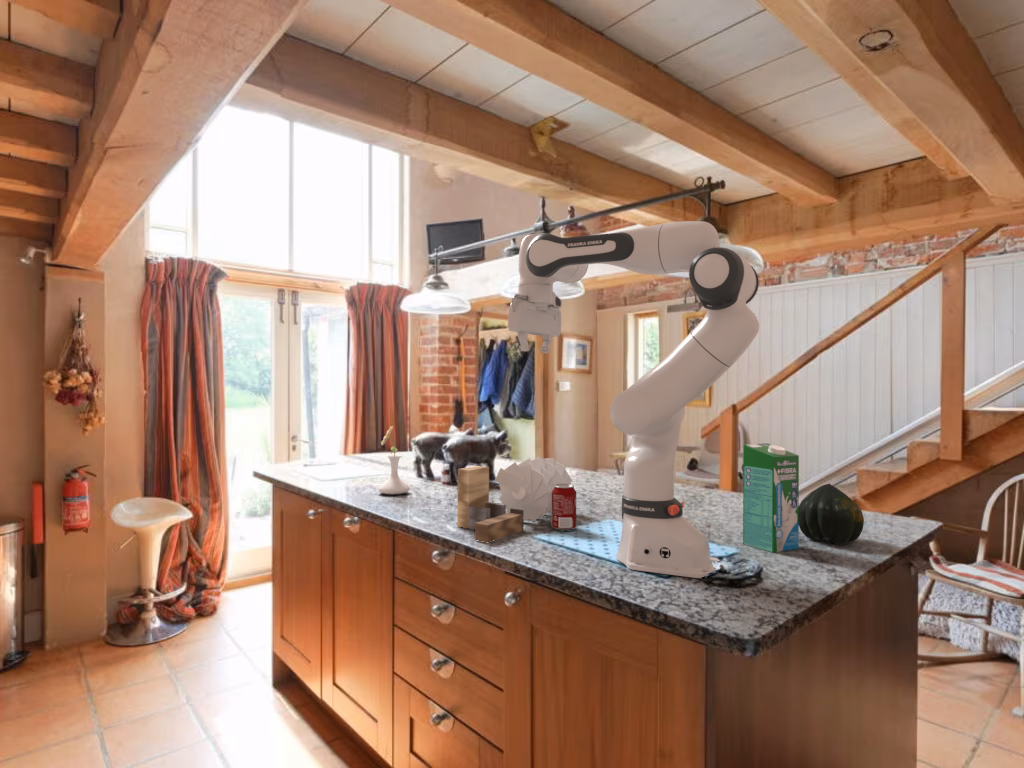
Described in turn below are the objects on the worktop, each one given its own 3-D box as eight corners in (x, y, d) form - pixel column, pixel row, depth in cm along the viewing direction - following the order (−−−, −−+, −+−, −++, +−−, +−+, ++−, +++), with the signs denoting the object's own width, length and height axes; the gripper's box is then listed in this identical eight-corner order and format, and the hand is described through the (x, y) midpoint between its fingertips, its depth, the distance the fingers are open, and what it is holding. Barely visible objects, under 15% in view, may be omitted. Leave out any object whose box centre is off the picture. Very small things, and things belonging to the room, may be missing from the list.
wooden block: (511, 528, 161) (511, 508, 161) (523, 530, 159) (523, 509, 159) (475, 540, 148) (475, 518, 148) (487, 543, 146) (487, 520, 146)
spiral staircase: (561, 522, 186) (531, 536, 163) (516, 494, 193) (481, 504, 170) (586, 472, 183) (559, 479, 161) (540, 445, 190) (507, 448, 168)
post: (505, 525, 164) (506, 468, 164) (486, 532, 157) (486, 472, 157) (477, 520, 170) (478, 465, 170) (457, 526, 162) (457, 469, 162)
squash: (829, 529, 139) (855, 479, 144) (777, 519, 153) (802, 473, 158) (859, 564, 144) (883, 514, 148) (806, 550, 157) (829, 505, 162)
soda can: (574, 532, 157) (575, 487, 157) (549, 531, 158) (550, 486, 158) (577, 526, 163) (577, 483, 163) (553, 525, 165) (553, 482, 165)
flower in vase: (384, 490, 219) (385, 423, 219) (414, 491, 217) (414, 424, 217) (371, 497, 206) (372, 426, 206) (402, 498, 204) (403, 426, 205)
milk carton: (773, 553, 138) (774, 447, 138) (742, 544, 146) (743, 443, 146) (798, 548, 142) (799, 445, 143) (767, 539, 150) (767, 442, 151)
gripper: (523, 291, 140) (522, 349, 140) (565, 302, 157) (565, 353, 156) (501, 293, 143) (501, 350, 143) (545, 304, 160) (545, 354, 160)
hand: (535, 352), depth 150 cm, fingers open, 8 cm apart
